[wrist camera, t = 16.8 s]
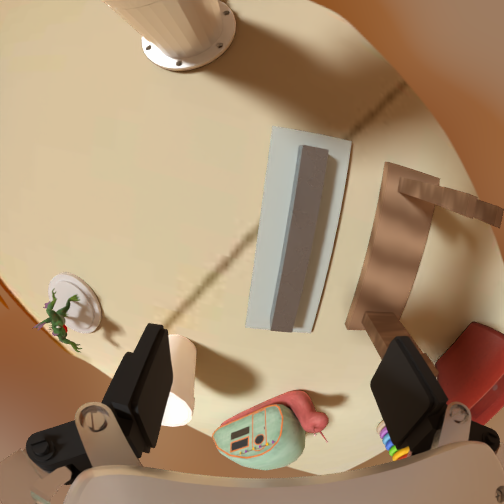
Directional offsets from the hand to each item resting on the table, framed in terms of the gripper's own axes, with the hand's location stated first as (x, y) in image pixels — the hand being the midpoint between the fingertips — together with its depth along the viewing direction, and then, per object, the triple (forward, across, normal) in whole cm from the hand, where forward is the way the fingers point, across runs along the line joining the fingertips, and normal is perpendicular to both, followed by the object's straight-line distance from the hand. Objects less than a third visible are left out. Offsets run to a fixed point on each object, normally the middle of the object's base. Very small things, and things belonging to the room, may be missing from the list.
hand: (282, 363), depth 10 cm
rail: (+25, -5, +3) cm, 26 cm away
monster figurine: (+26, +31, +18) cm, 45 cm away
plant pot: (+24, -49, +25) cm, 60 cm away
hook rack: (+26, -20, +4) cm, 33 cm away
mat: (+26, -5, +4) cm, 26 cm away
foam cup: (+26, +11, +24) cm, 37 cm away
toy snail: (+25, -5, +39) cm, 46 cm away
